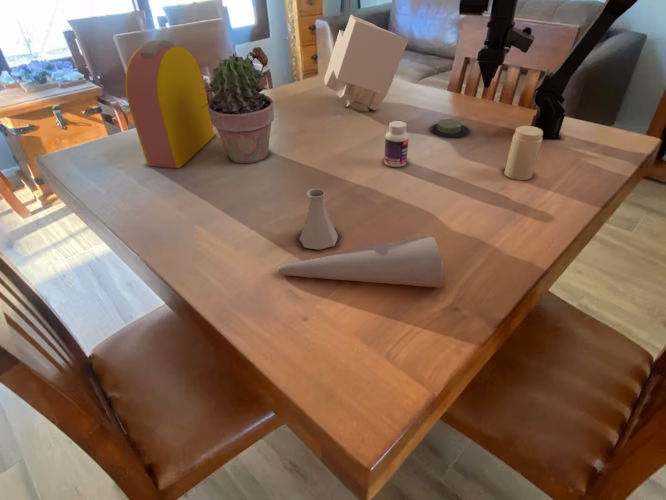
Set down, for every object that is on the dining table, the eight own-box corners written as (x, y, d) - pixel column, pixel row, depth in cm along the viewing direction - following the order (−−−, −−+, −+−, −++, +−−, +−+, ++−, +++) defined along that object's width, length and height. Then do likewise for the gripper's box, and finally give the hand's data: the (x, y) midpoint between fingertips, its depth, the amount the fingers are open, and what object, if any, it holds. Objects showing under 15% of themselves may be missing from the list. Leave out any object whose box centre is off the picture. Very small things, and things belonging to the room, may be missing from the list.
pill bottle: (405, 168, 102) (409, 129, 96) (382, 166, 102) (384, 127, 97) (407, 158, 106) (410, 120, 100) (385, 157, 107) (387, 119, 101)
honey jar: (526, 167, 100) (538, 124, 94) (535, 180, 96) (548, 135, 89) (500, 168, 101) (511, 125, 94) (508, 180, 96) (520, 136, 89)
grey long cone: (268, 284, 63) (444, 260, 62) (272, 248, 70) (430, 226, 69) (280, 319, 68) (443, 298, 67) (283, 282, 75) (430, 262, 73)
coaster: (465, 124, 122) (466, 122, 122) (470, 138, 114) (470, 136, 114) (430, 123, 123) (430, 122, 123) (432, 137, 116) (432, 135, 115)
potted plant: (192, 159, 108) (167, 53, 93) (253, 135, 120) (239, 37, 104) (235, 181, 99) (215, 67, 83) (297, 153, 110) (289, 48, 94)
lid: (460, 125, 121) (461, 119, 120) (461, 134, 116) (462, 128, 115) (436, 124, 122) (437, 118, 121) (436, 133, 117) (437, 127, 116)
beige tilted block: (320, 88, 143) (345, 7, 129) (364, 101, 147) (393, 25, 133) (326, 110, 127) (355, 20, 113) (375, 124, 132) (408, 39, 118)
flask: (299, 229, 82) (295, 183, 76) (336, 226, 83) (335, 181, 77) (299, 252, 77) (295, 204, 71) (339, 249, 77) (339, 201, 71)
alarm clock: (186, 132, 122) (161, 31, 106) (215, 134, 121) (194, 31, 105) (146, 165, 106) (109, 51, 90) (179, 168, 104) (148, 52, 88)
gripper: (534, 25, 95) (517, 96, 104) (540, 12, 108) (524, 76, 118) (482, 23, 99) (471, 91, 108) (494, 10, 112) (483, 72, 122)
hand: (489, 82), depth 114 cm, fingers open, 9 cm apart
